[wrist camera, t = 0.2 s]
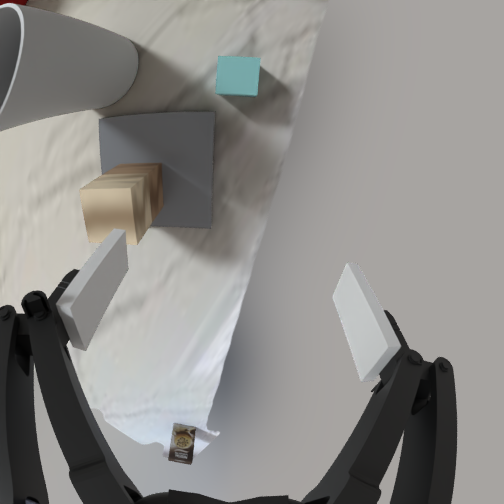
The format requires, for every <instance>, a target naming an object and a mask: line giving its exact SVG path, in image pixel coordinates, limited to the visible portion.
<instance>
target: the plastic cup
mask: <svg viewBox="0 0 504 504" xmlns="http://www.w3.org/2000/svg"><path fill="white" fill-rule="evenodd" d="M27 1H28V0H0V6H1V5H3V4H7V3H13V4H19V5H24V6H25V4H26V3H27Z"/></svg>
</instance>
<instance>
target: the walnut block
mask: <svg viewBox="0 0 504 504" xmlns="http://www.w3.org/2000/svg"><path fill="white" fill-rule="evenodd" d="M135 173H148V174H149V192H150V205H151V217H152V222H153V221H154V219H155V218H156V216H157V215H158V214H159V212H160V211H161V209H162V208H163V207H164V204H163V184H162V163H129V164H119V165H117V166H116V167H114V168H112V169H111V170H109V171H107V172H106V173H104V174H103V175H109V174H135Z"/></svg>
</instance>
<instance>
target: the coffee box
mask: <svg viewBox="0 0 504 504" xmlns="http://www.w3.org/2000/svg"><path fill="white" fill-rule="evenodd" d="M195 431H196V427H192V426H187V425H181V424H176V423H174V424H173V431H172V437H171V444H170V451H169V458H168V460H169V461H174V462H179V463H184V464H190V465H191V463H192V460H193V450H194V440H195Z"/></svg>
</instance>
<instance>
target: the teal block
mask: <svg viewBox="0 0 504 504" xmlns="http://www.w3.org/2000/svg"><path fill="white" fill-rule="evenodd" d="M259 69H260V58H254V57H235V56H218V65H217V78H216V92H215V94H218V95H230V96H249V97H256V96H257V93H258V81H259Z"/></svg>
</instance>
